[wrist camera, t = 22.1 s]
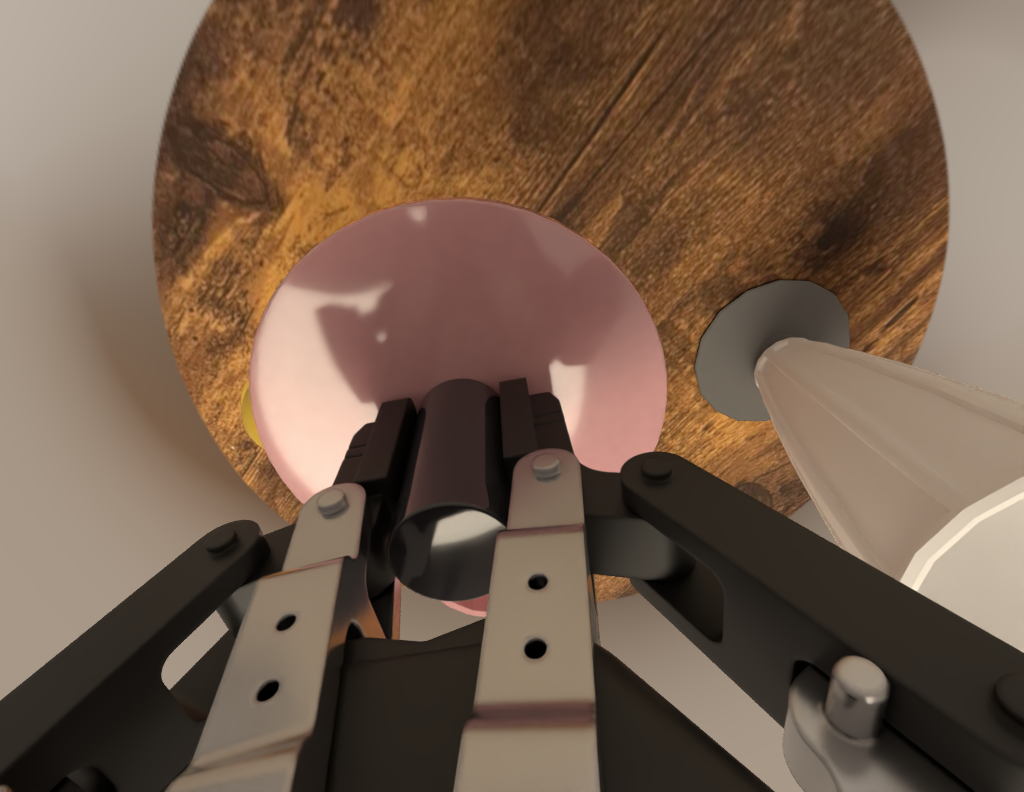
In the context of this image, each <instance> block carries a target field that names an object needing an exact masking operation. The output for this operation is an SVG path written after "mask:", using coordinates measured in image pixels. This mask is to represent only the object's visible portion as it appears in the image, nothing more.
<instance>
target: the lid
mask: <svg viewBox="0 0 1024 792" xmlns="http://www.w3.org/2000/svg"><path fill="white" fill-rule="evenodd" d="M524 377H526V381H527V386H528V392H529V395H532V394H538V393H544V392H550V393H551V394H553V395H554V396H555V397H556V398H558V399H559V400H560V404H561V408H562V412H563V415H564V418H565V422H566V426H567V429H568V433H569V437H570V440H571V444H572V447H573V451H574V454H575V456H576V457H577V458H578V459H579V462H580V463H581V464H583V465H584V466H586V467H588V468H591V469H594V470H598V471H603V472H619V473H620V470H621V468H622V466H623V464H624V463H625V462H626V461H627V460H629V459H630V458H632V457H634V456H636V455H639V454H642V453H647V452H654V450H655V447H656V445H657V443H658V439H659V436H660V432H661V429H662V425H663V422H664V416H665V409H666V401H667V371H666V365H665V358H664V352H663V347H662V344H661V341H660V338H659V335H658V332H657V328H656V325H655V323H654V321H653V319H652V317H651V315H650V313H649V311H648V309H647V307H646V305H645V303H644V301H643V299H642V298H641V296H640V295H639V294H638V292H637V291H636V289H635V288H634V286H633V285H632V283H631V282H630V281H629V279H628V278H627V277H626V276H625V275H624V274H623V272H622V271H621V270H620V269H619V268H618V267H617V266H616V265H615V264H614V263H613V262H612V261H611V260H610V259H609V258H608V257H607V255H606V254H605V253H603V252H602V251H601V250H600V249H598V248H597V247H596V246H595V245H593V244H592V243H591V242H590V241H588V240H587V239H586V238H585V237H583V236H582V235H581V234H579V233H577V232H576V231H574V230H572V229H570V228H569V227H567V226H565V225H564V224H562V223H560V222H559V221H557V220H555V219H553V218H550V217H548V216H545V215H543V214H540V213H538V212H536V211H533V210H531V209H528V208H525V207H521V206H517V205H513V204H510V203H506V202H502V201H498V200H491V199H482V198H473V197H432V198H426V199H420V200H414V201H408V202H402V203H399V204H396V205H393V206H390V207H387V208H383V209H380V210H377V211H374V212H371V213H369V214H367V215H365V216H363V217H361V218H359V219H357V220H355V221H353V222H351V223H349V224H347V225H345V226H343V227H342V228H340V229H339V230H338V231H336V232H335V233H333V234H332V235H330V236H329V237H327V238H326V239H324V240H323V241H321V242H320V243H319V244H317V245H316V246H314V247H313V248H312V249H311V250H310V251H309V252H308V253H307V254H306V255H305V256H304V257H303V258H302V259H301V260H300V261H299V262H297V263H296V264H295V265H294V266H293V268H292V269H291V270H290V271H289V273H288V274H287V275H286V277H285V278H284V279H283V281H282V282H281V283H280V284H279V286H278V287H277V288H276V290H275V292H274V294H273V295H272V297H271V299H270V301H269V303H268V305H267V306H266V308H265V310H264V312H263V314H262V317H261V320H260V323H259V326H258V329H257V331H256V334H255V337H254V342H253V348H252V353H251V359H250V373H249V391H250V399H251V406H252V413H253V417H254V421H255V424H256V428H257V431H258V434H259V438H260V440H261V442H262V444H263V447H264V449H265V451H266V453H267V455H268V458H269V460H270V461H271V463H272V465H273V466H274V468H275V469H276V471H277V473H278V474H279V476H280V477H281V479H282V480H283V482H284V483H285V484H286V485H287V486H288V488H289V489H290V490H291V491H292V493H293V494H294V495H295V496H296V497H297V499H299V500H300V501H301V502H302V503H303V504H305V503H306V501H307V500H308V499H310V498H311V497H312V496H313V495H315V494H316V493H318V492H320V491H321V490H323V489H325V488H328V487H330V486H332V485H333V482H334V480H335V478H336V475H337V473H338V471H339V468H340V466H341V464H342V461H343V460H344V459H345V458H344V457H345V454H346V452H347V450H349V448H348V447H349V445H350V442H351V440H352V438H353V435H354V434H355V433H356V432H357V431H358V430H360V429H361V428H362V427H363V426H364V425H365V424H366V423H371V422H375V420H376V417H377V414H378V412H379V409H380V406H381V404H382V403H383V402H387V401H393V400H398V399H404V398H411V399H412V400H413V402H414V405H415V408H416V412H417V419H416V423H415V427H414V432H413V436H412V440H411V444H410V449H409V453H408V457H407V462H406V466H405V470H404V474H403V479H402V483H401V487H400V492H399V496H398V500H397V504H396V509H395V513H394V517H393V521H392V526H391V530H390V534H389V539H388V543H387V558H388V562H389V565H390V568H391V570H392V572H393V573H394V575H395V576H396V577H397V579H398V580H399V581H400V582H401V583H402V584H403V585H404V586H406V587H407V588H408V589H410V590H412V591H413V592H415V593H417V594H420V595H422V596H424V597H427V598H430V599H435V600H440V601H452V602H455V601H466V600H472V599H476V598H479V597H482V596H485V595H487V594H489V589H490V582H491V575H492V567H493V560H494V553H495V545H496V538H497V534H498V531H499V530H507V524H508V515H509V506H510V497H511V489H510V486H509V481H508V476H507V472H506V467H505V463H504V458H503V443H502V425H501V408H500V390H499V382H501V381H507V380H513V379H518V378H524Z"/></svg>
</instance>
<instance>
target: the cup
mask: <svg viewBox="0 0 1024 792" xmlns="http://www.w3.org/2000/svg"><path fill="white" fill-rule="evenodd" d="M849 345H850V337H849V317H848V315H847V313H846V312H845V310H844V308H843V307H842V305H841V304H840V302H839V300H838V299H837V297H836V295H835V294H833V293H831V292H830V291H828V290H826V289H824V288H822V287H820V286H818V285H817V284H815V283H813V282H811V281H793V280H778V281H775V282H772V283H769V284H766V285H763V286H760V287H757V288H754V289H751V290H748V291H746V292H745V293H744V294H742V295H741V296H740V297H738V298H737V299H736V300H734V301H733V302H732V303H730V304H729V305H728V306H727V307H725V308H724V309H723V310H721V311H720V312H719V313H718V315H717V316H716V318H715V319H714V321H713V322H712V324H711V325H710V326H709V328H708V329H707V331H706V332H705V334H704V335H703V337H702V338H701V341H700V345H699V350H698V354H697V358H696V362H695V367H694V368H695V372H696V377H697V382H698V387H699V392H700V393H701V394H702V396H703V397H704V398H705V399H706V400H707V402H708V403H709V404H710V405H711V406H712V408H713V409H714V410H715V411H717V412H719V413H722V414H724V415H726V416H728V417H731V418H733V419H735V420H738V421H768V420H771V421H772V424H773V426H774V428H775V430H776V432H777V434H778V436H779V438H780V440H781V442H782V444H783V446H784V448H785V450H786V452H787V455H788V457H789V459H790V461H791V463H792V465H793V467H794V469H795V471H796V472H797V474H798V476H799V478H800V479H801V481H802V483H803V485H804V486H805V488H806V490H807V492H808V493H809V495H810V497H811V499H812V500H813V502H814V504H815V506H816V507H817V509H818V511H819V513H820V515H821V516H822V518H823V520H824V522H825V523H826V525H827V527H828V529H829V531H830V532H831V534H832V536H833V537H834V539H835V540H836V542H837V543H838V545H839V546H840V548H841V549H843V550H845V551H847V552H848V553H850V554H852V555H854V556H855V557H857V558H859V559H861V560H862V561H864V562H866V563H868V564H869V565H871V566H873V567H875V568H876V569H878V570H880V571H882V572H883V573H885V574H887V575H889V576H890V577H892V578H894V579H896V580H897V581H899V582H901V583H903V584H904V585H906V586H908V587H910V588H911V589H913V590H915V591H917V592H918V593H920V594H922V595H924V596H925V597H927V598H929V599H931V600H932V601H934V602H936V603H938V604H939V605H941V606H943V607H945V608H946V609H948V610H950V611H952V612H953V613H955V614H957V615H959V616H960V617H962V618H964V619H966V620H967V621H969V622H971V623H973V624H974V625H976V626H978V627H980V628H981V629H983V630H985V631H987V632H988V633H990V634H992V635H994V636H995V637H997V638H999V639H1001V640H1002V641H1004V642H1006V643H1008V644H1009V645H1011V646H1013V647H1015V648H1016V649H1018V650H1020V651H1022V652H1023V653H1024V403H1021V402H1019V401H1016V400H1013V399H1011V398H1008V397H1005V396H1002V395H999V394H996V393H993V392H990V391H987V390H984V389H981V388H978V387H975V386H972V385H969V384H966V383H963V382H960V381H957V380H954V379H951V378H948V377H945V376H942V375H939V374H936V373H933V372H930V371H926V370H924V369H921V368H918V367H915V366H911V365H908V364H904V363H901V362H897V361H893V360H890V359H886V358H882V357H879V356H875V355H872V354H868V353H864V352H861V351H857V350H853V349H848V347H849Z"/></svg>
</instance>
